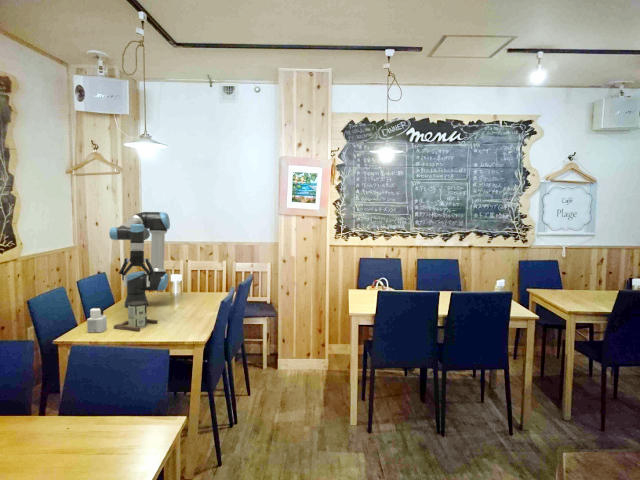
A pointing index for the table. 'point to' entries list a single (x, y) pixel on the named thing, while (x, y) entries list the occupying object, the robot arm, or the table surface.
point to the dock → (123, 327)
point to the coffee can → (137, 314)
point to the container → (96, 320)
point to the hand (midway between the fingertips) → (136, 286)
